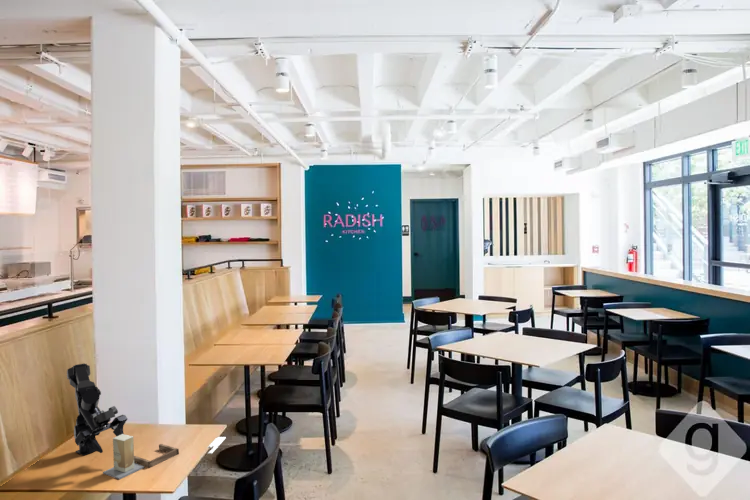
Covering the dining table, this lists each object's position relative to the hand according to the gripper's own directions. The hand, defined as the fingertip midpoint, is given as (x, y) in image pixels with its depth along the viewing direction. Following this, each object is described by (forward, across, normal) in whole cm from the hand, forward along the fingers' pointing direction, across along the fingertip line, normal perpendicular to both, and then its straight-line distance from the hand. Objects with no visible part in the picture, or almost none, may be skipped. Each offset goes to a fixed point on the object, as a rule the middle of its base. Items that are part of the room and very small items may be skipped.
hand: (113, 447), depth 189 cm
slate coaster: (+10, 0, +2) cm, 10 cm away
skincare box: (+9, 0, +1) cm, 9 cm away
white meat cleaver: (+21, +29, -9) cm, 38 cm away
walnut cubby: (+11, +12, 0) cm, 16 cm away
